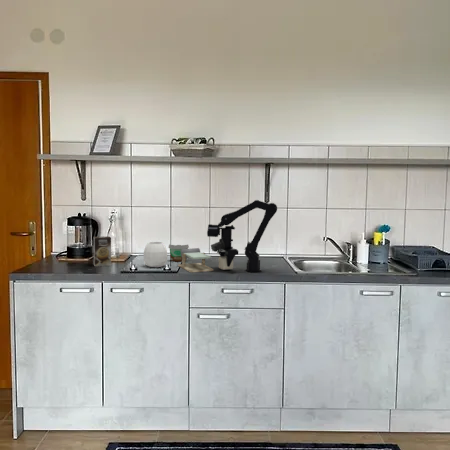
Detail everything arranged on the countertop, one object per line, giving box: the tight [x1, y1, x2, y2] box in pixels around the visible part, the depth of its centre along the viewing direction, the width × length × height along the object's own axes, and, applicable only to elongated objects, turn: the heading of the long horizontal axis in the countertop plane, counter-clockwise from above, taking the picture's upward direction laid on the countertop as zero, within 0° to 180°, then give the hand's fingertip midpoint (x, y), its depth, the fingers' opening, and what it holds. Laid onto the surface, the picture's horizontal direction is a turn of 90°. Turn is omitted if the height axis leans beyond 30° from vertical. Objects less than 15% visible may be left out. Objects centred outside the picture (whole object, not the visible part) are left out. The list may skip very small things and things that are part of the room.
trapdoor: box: [181, 247, 212, 260], centre depth 262 cm, size 10×20×5 cm, turn 25°
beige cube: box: [218, 256, 234, 270], centre depth 259 cm, size 6×6×6 cm
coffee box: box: [93, 236, 112, 267], centre depth 266 cm, size 9×6×16 cm
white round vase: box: [143, 241, 168, 268], centre depth 266 cm, size 13×13×14 cm
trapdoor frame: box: [177, 252, 214, 273], centre depth 262 cm, size 13×20×8 cm
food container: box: [167, 243, 190, 263], centre depth 284 cm, size 12×6×10 cm, turn 101°
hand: (225, 265), depth 260 cm, fingers closed on beige cube, 6 cm apart
